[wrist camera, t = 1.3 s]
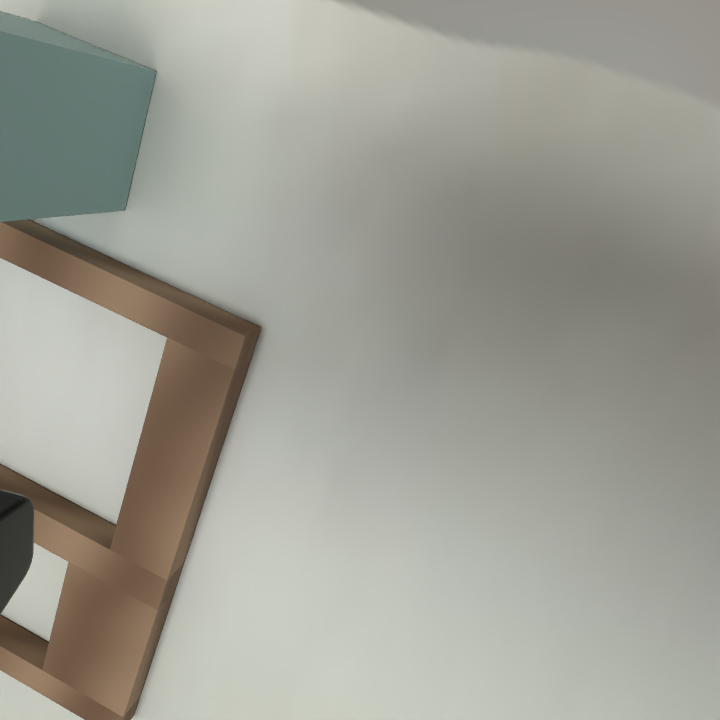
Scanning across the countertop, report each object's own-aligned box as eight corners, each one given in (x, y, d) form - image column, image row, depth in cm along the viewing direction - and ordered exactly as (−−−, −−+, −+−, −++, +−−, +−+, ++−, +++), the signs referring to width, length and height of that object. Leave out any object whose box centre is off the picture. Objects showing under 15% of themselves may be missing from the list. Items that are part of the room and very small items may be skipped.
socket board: (261, 327, 21) (236, 341, 20) (133, 715, 28) (107, 750, 26) (-81, 169, 23) (-130, 169, 21) (-123, 567, 30) (-163, 590, 28)
